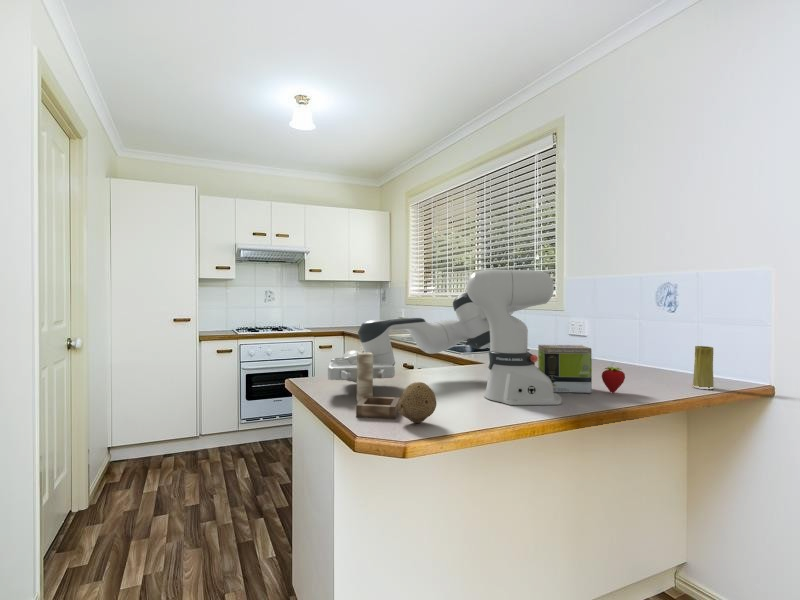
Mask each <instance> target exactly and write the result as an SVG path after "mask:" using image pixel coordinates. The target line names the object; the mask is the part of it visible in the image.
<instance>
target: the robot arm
mask: <svg viewBox="0 0 800 600" xmlns="http://www.w3.org/2000/svg"><path fill="white" fill-rule="evenodd" d="M554 290H555V286H554V281H553V279H552V278H551V276H550V275H549V273H547V272H543V271H539V270H534V269H495V268H494V269H482V270H479V271H474V272H472V274H471V275H470V276H469V278H468V279H467V282H466V291H465V292H461V293H460V294H459V295H457V297H455V298H454V300H453V302H452V307H453V310H454V312H455V314H456V316H457V319H455V318H452V319H443V320H438V321H434V322H428V321H427V320H426V319H424V318H422V317H409V318H408V317H406V318H405V317H404V318H395V319H386V320H385V319H383V320H382V319H370V320H367V321H365V322H362V323H361V325H360V327H359V329H358V331H357V334H358V338H359V340H360V343H361V347H362V351H359V350H356V349H351V350H347V351H346V352H344V353H343V355H342V356H341V357H335V358H330V362H329V363H328V366H327V380H330V381H335V380H336V381H347V382H353V383H356V384H357V353H362V352H371V353H372V354H373V379H392V378H394V377H395V375H396V374H395V373H396V371H395V365H396V360H395V359H396V358H395V355H394V351H393V347H392V342H391V338H390V332H394V331H395V332H397V331H406V332H408V333H409V335H410V336H411V338H412V339H413V341H414V342H415V345H416V346H417V347H418V348H419V349H420V350H421V351H423V352H424V353H426V354H429V355H430V354H431V355H435V354H438V353H439V354H440V353H442V352H444V351H447V350H449V349H451V348H453V347H455V346H457V345H459V344H460V343H461V342H464V341H465V343H464V345H465V346H469V347H471V348H473V349H476V350H482V349H483V350H484V349H487V348H489V350H488V355H487V367H488V374H487V375H488V376H487V383H486V387H485V390H484V395H483V396H484V398H485V399H487V400H491V401H493V402H498V403H499V402H500V403H504V404H506V405H510V406H514V405H515V406H531V405H532V406H533V405H534V406H535V405H536V406H537V405H539V406H540V405H541V406H542V405H543V406H546V405H548V406H549V405H550V406H552V405H555V406H556V405H557V406H558V405H561V404H562V403H563V402H562V401H563V399H562V397H561V396H560V395H559V394H557V393H556V392H554V389H553V384H552V381H551V380H550V378H549V377H548V376H547V375H545V374H544V373H543V372H542V371H541V370H539V369H538V367H537V366H536V365H535V366H534V365H533V364H534V362H535V363H538V362H537V361H538V355H535V354H532V353H531V352H528V341H529V339H528V337H529V335H528V334H529V330H528V327H527V325H526V323H525V322H524V321H522V320H521V319H519V318H517V317H516V316H513V314H514V313H515V312H517V311H520V310H521V311H522V310H524V309H527V308H528V309H529V308H531V307H536V306H541V305H546V304H548V303H549V301H551V299H552V297H553V296H554V295H553V294H554V292H555V291H554Z"/></svg>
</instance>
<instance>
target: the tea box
mask: <svg viewBox="0 0 800 600" xmlns="http://www.w3.org/2000/svg"><path fill="white" fill-rule="evenodd" d="M537 348H538V349H537V352H538V354H537V357H538V359H537V360H538V362H537V363H538V364H537V366H538V367H537V368H538V369H539V370H541V371H542V372H543V373H544V374H545V375H547V376H548V377H549V378H550V380H551V381H552V384H553V389H554V393H578V394H579V393H581V394H583V393H584V394H585V393H586V394H591V393H592V390H593V389H592V386H593V385H592V383H593V382H592V380H593V379H592V377H593V375H592V374H593V373H592V371H593V369H592V368H593V367H592V366H593V365H592V364H593V363H592V360H593V359H592V357H593V355H592V348H591V347H588V346H585V345H583V344H538V347H537Z"/></svg>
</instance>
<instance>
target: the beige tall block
mask: <svg viewBox="0 0 800 600" xmlns="http://www.w3.org/2000/svg"><path fill="white" fill-rule="evenodd" d="M373 381H374V378H373V354H372V353H371V352H364V351H362V352H361V353H357V383H356V402H357V404H358V403H359V401H360V400H361V399H362V398H363V397H364V396H370V397H374V396H373V394H374V393H373V392H374V390H373V388H374V387H373V386H374V385H373V383H374V382H373Z"/></svg>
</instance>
